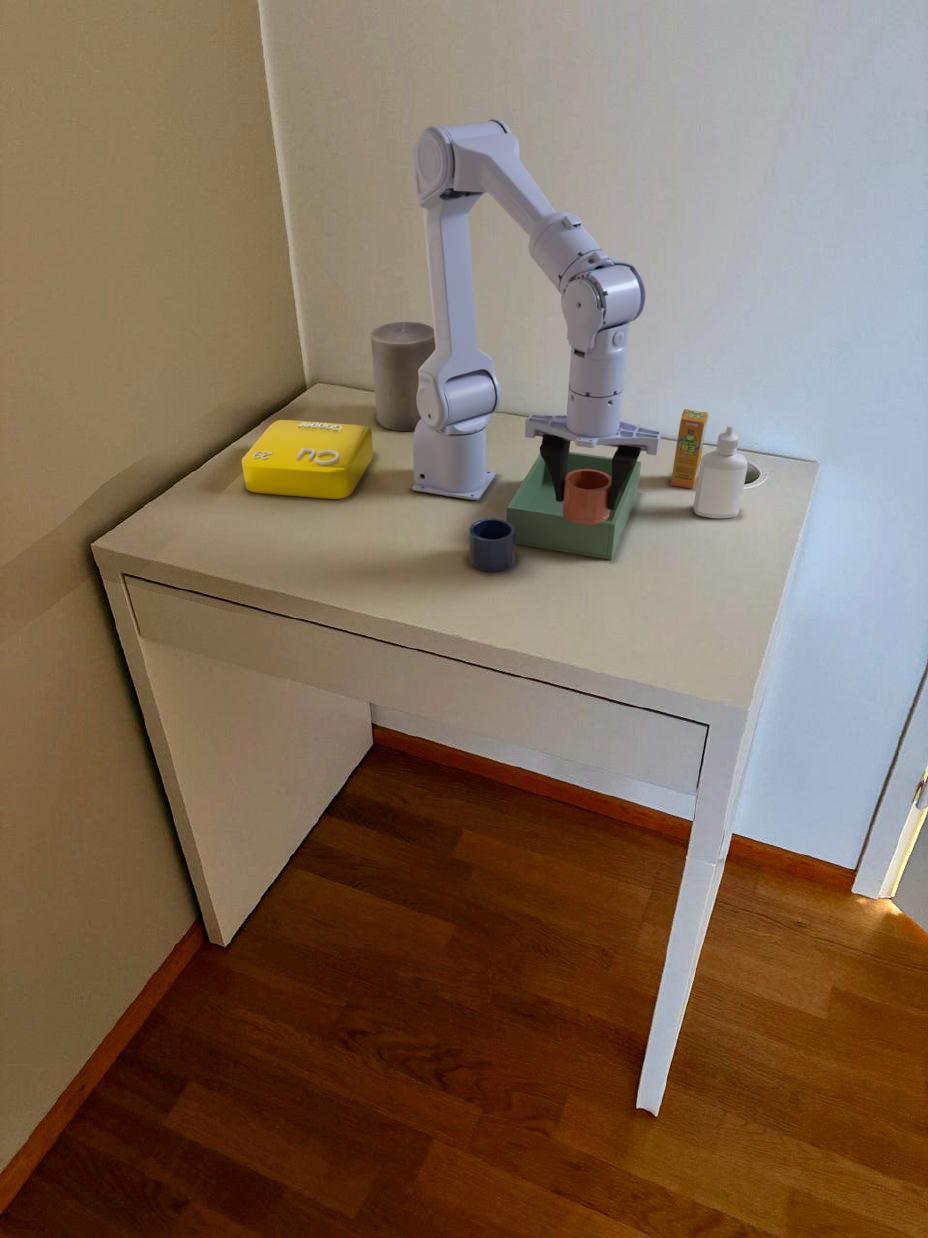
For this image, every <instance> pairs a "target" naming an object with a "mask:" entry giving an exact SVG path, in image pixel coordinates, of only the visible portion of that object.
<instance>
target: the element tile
mask: <svg viewBox="0 0 928 1238" xmlns="http://www.w3.org/2000/svg"><path fill="white" fill-rule="evenodd" d="M373 448H374V447H373V432H372V430H371V428H370V427H369V426H367V425H361V424H350V423H348V424H347V423H335V422H334V423H333V422H319V421H306V420H305V421H304V420H292V419H278V420H275V421H274V422H273V423H271V424H270V425H269V426H268V427H267V428H266V430H265V431H264V432H263V433H262V434H261V436H260V437H259V438H258V439H257V441H256V442H254V444H253V445H252V446H251V448H250V449H249V450H248V451H247V452H246V454H245V455H244V456H243V457H242V458H241V465H242V472H243V478H244V484H245V489H246V490H247V491H249V492H250V493H251V492H252V493H254V494H255V493H256V494H265V495H274V496H275V495H276V496H288V497H301V498H313V499H324V500H325V499H326V500H341V499H345V498H348V497H349V496H351V495H352V494H353V492H354V490H355V488H356V487H357V486H358V483H359V482H360V480H361V478H362V477H363V475H364V474H365V472H366V469H367V468H368V466H369V465H370V463H371V461H372V459H373V458H374V449H373Z"/></svg>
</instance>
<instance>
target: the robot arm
mask: <svg viewBox="0 0 928 1238" xmlns="http://www.w3.org/2000/svg"><path fill="white" fill-rule="evenodd" d="M519 143H520V142H519V139H518V137H517V136H516V135H515V134H513V133H512V132H511V129H510V127H509V126H508V125H507V124H506V122H504V121H503V120H502V119H499V118H491V119H489V120H486V121H479V122H470V123H469V122H468V123H461V124H453V125H444V126H437V125H430V126H427V127H426V128H425V127H424V129H423V130H422V131H421V133H420V135H419V136H418V138H417V141H416V142H415V143H414V146H413V147H412V159H413V169H414V170H413V171H414V181H415V192H416V200H417V202H416V203H417V205H418V206H419V207H421V208H422V218H423V219H422V220H423V226H424V230H423V231H424V240H425V249H426V250H425V251H426V260H427V261H426V262H427V270H428V271H427V273H428V283H429V295H430V302H431V314H432V325H433V327H432V328H433V329H434V338H435V351H434V352H433V353H432V354H431V356H430V357H429V358H428V359H427V360H426V361H425V362H424V363H423V365H422V366H421V367H420V368H419V370H418V375H419V386H418V391H417V397H416V400H417V407H418V411H419V414H420V416H421V418H422V419H420V420H419V422H418V424H417V426H416V428H415V430H414V433H413V439H412V459H413V460H412V461H413V462H412V463H413V483H414V484H413V485H412V487H411V489H412V491H415V492H420V493H427V494H433V495H439V496H440V495H441V496H445V497H452V498H456V499H457V498H458V499H464V500H471V501H479V500H480V499H481V498H482V496H483V495H484V493H485V492H486V490H487V489H488V487H489V486H490V485H491V483H492V482H493V480H494V478H495V477H496V472H495V471H491V470H487V424H489V423H491V422H492V414H494V413H495V412H497V411H498V409H499V407H500V404H501V399H502V398H501V396H502V394H501V387H500V386H501V385H500V383H499V380H498V378H497V374H496V370H495V369H496V368H495V361H494V359H493V358H492V357H491V356H490V355H488V354H487V353H485V352H484V351H482V350H481V349H479V347H478V336H477V321H476V308H475V306H476V305H475V294H474V293H475V292H474V278H473V266H472V265H473V264H472V263H473V262H472V250H471V249H472V248H471V237H470V235H471V234H470V220H469V215H470V212H471V210H472V209H473V208H474V206H475V205H476V204H477V202H478V201H479V200H480V198H481V197H482V196H484V195H485V194H487V193H488V194H489V195H490V197H492V199H494V200H495V201H496V203H497V204H499V206H500V207H501V208H502V209H503V210H504V211H505V212H506V213H507V214H508V215H509V216H510V217H511V219H513V221H514V222H515V223H516V224H518V226H519V227H520V228H521V229H522V230H523V231H524V232H525V233H526V234H527V235H528V236H529V242H528V253H529V256H530V257H531V258H532V259H533V261H534V262H535V263H536V265H537V266H538V267H539V268H540V270H541V271H542V272H543V273H544V275H545V276H546V277H547V278H548V280H549V281H550V282H551V283H552V285H553V286H554V288H556V289H557V290H556V291H558V292H559V294H560V295H561V296H560V303H561V304H560V306H561V311H562V315H563V318H564V321H565V323H566V327H567V329H566V331H567V332H566V340H567V341H568V345H569V347H570V358H569V359H570V360H569V361H570V362H569V376H568V389H567V405H566V414H549V415H548V414H534V413H533V414H532V413H531V414H529V415H528V417H527V418H526V419H525V423H524V437H525V438H528V439H529V438H530V439H535V438H536V437H542V441H541V444H540V446H539V455H540V454H541V456H542V458H543V460H544V461H545V463H546V465H547V467H548V470H549V472H550V475H551V478H552V481H553V485H554V490H555V495H556V501H558V502H562V501H563V485H564V478H565V476H566V474H567V465H568V456H569V452H570V447H571V442H574V445H575V446H576V447H581V448H587V449H593V448H595V446H605V447H611V448H617V449H616V451H615V452H614V455H612V457H611V458H612V483H611V491H610V496H609V502H608V509H609V510H615V507H616V505H617V503H618V498H619V494H620V491H621V488H622V485H623V483H624V481H625V479H626V478H627V476H628V474H629V473H630V471H631V470H632V468H633V467H634V465H635V463H636V462H637V461H638V460H639V457H640V455H641V453H642V452H646V454H647V455H648V456H657V455H658V453H659V450H660V446H661V440H662V431H659V430H654V429H648V428H645V427H641V426H638V425H635V424H631V423H628V422H626V421H625V422H624V421H621V415H622V406H623V398H624V397H623V396H624V387H625V378H626V367H627V357H628V348H629V337H630V329H631V322H634V321H636V320H637V319H638V318H639V317H640V316H641V315H642V312H643V311H644V308H645V304H646V287H645V284H644V280H643V278H642V276H641V274H640V273H639V271H638V269H637V267H636V266H635V265H634V264H632V263H631V262H627V261H619V260H617V259H616V258H615V257H610V256H608V254H607V253H606V252H605V250H603V248H601V246H600V245H599V244H598V242H597V241H596V240H595V239H594V238H593V237H592V235H591V233H589V232H588V231H587V229H586V228H585V227H584V225H583V221H582V219H581V218H580V217H579V216H578V214H575V213H574V214H573V213H571V212H569V211H558V212H556V210H555V209H554V208H553V206H552V204H551V203H550V202H549V200H548V199H547V196H546V195H545V194H544V192H543V191H542V190H541V188H540V187H539V185H538V184H537V183H536V181H535V180H534V178H533V177H532V175H531V173H529V171H528V170H527V168H526V166H525V165H524V163H523V162H522V160H521V159H520V144H519Z"/></svg>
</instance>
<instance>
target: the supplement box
mask: <svg viewBox="0 0 928 1238" xmlns="http://www.w3.org/2000/svg"><path fill="white" fill-rule="evenodd" d="M708 419H709V412H707V411H698V410H692V409H689V408H688V409H687V408H685V409H683V411H682V414H681V417H680V422H679V429H678V434H677V440H676V447H675V453H674V454H675V455H674V460H673V467H672V473H671V480H670V486H672V487H679V488H686V489H694V487H695V486H696V484H697V481H698V475H699V469H700V463H701V459H702V454H703V449H704V442H705V436H706V431H707V430H706V429H707V425H708Z"/></svg>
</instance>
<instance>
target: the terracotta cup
mask: <svg viewBox="0 0 928 1238" xmlns="http://www.w3.org/2000/svg"><path fill="white" fill-rule="evenodd" d="M611 483H612V477H611V476H609V475H608V474H607V473H605V472H602V471H599V470H593V469H579V470H574V471H571V472H569V473H568V474H566V476H565V478H564V485H563V501H562V513H563V515H564V517H565V518H567V519H568V520H570V521H572V522H575V523H579V524H597V523H601V522H603V521H605V520H606V519H607V518H608V517H609V515H610V510H609V509H608V502H609V496H610V491H611Z"/></svg>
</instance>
